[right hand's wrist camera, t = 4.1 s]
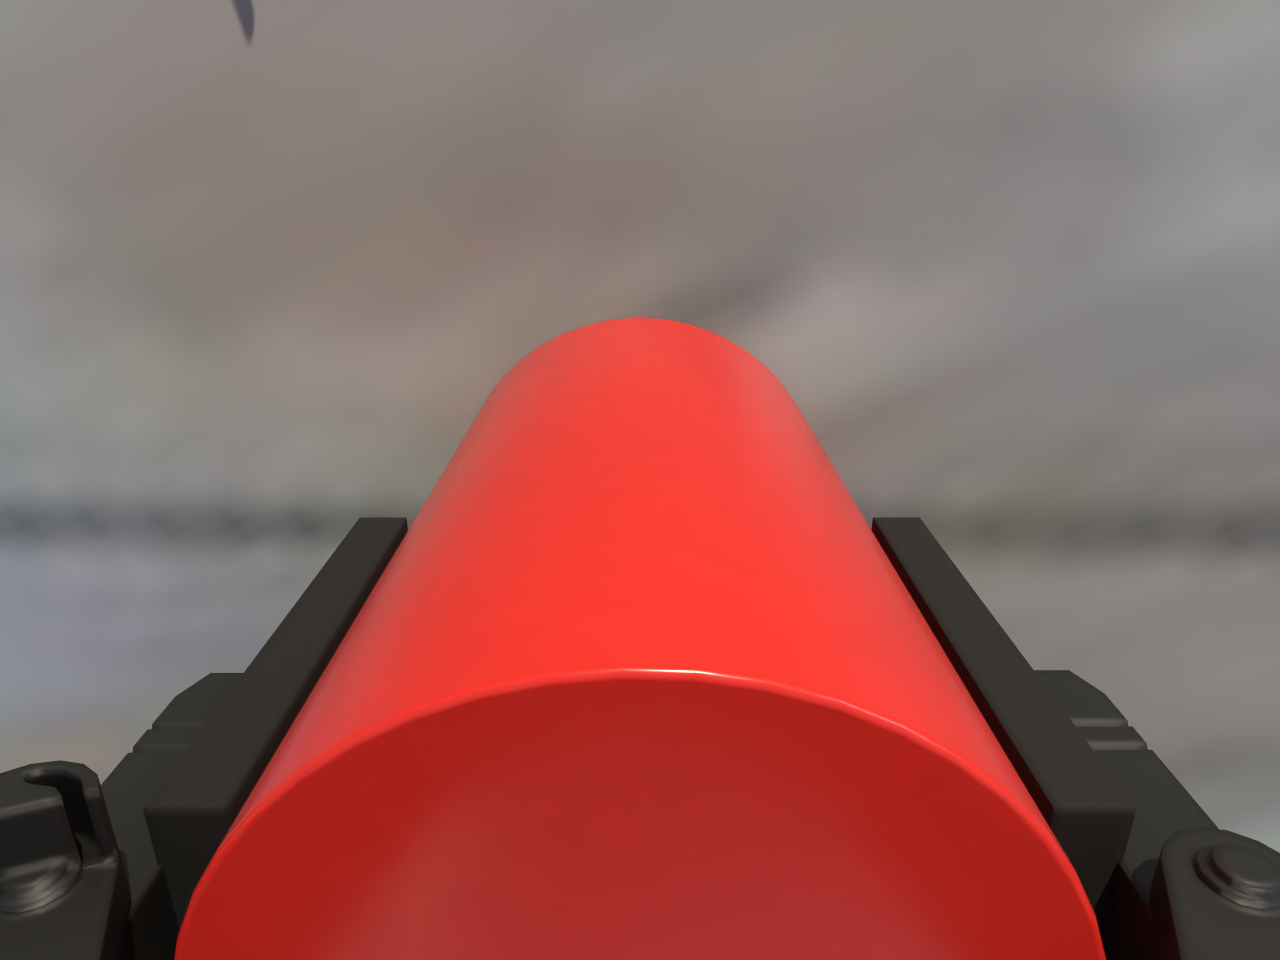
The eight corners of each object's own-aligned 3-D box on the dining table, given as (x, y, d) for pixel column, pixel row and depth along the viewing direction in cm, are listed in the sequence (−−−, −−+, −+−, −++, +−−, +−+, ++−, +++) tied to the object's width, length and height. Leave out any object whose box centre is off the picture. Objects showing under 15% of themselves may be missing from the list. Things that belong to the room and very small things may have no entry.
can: (408, 378, 17) (-28, 819, 6) (769, 269, 17) (1051, 542, 5) (531, 679, 20) (389, 1382, 9) (848, 597, 19) (1150, 1253, 8)
